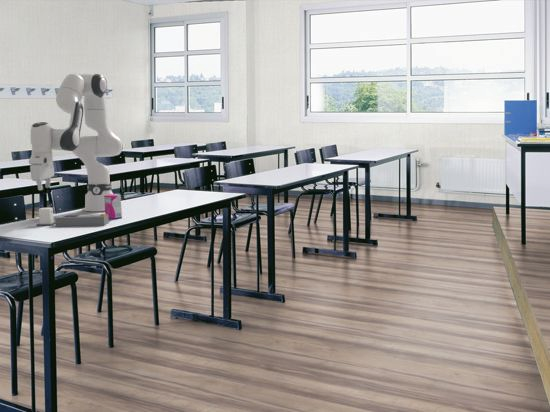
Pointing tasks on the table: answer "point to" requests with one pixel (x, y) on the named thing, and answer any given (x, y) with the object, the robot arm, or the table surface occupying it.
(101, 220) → the grey flat block
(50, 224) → the mat
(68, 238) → the table surface
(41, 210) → the charger
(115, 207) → the supplement box
